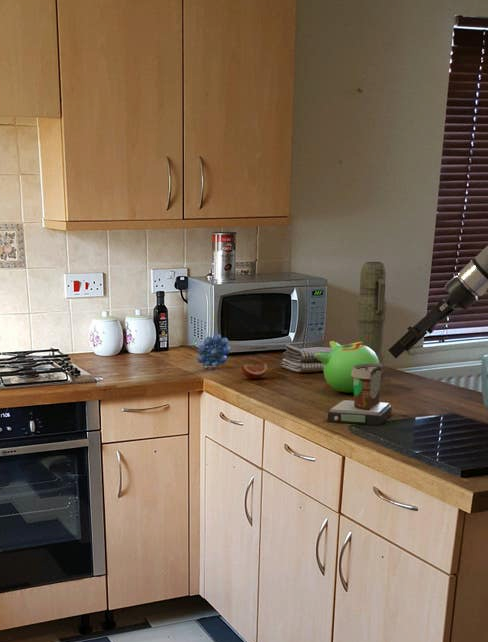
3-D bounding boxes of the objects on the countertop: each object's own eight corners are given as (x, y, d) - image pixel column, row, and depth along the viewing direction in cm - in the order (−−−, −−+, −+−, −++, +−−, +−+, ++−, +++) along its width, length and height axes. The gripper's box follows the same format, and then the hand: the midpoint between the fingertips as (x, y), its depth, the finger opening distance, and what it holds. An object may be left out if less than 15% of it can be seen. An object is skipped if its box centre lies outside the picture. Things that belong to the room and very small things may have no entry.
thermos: (368, 379, 273) (374, 263, 262) (345, 374, 283) (350, 262, 272) (391, 377, 277) (397, 261, 265) (367, 372, 287) (373, 261, 276)
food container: (356, 400, 227) (358, 362, 224) (380, 402, 224) (382, 363, 221) (343, 410, 216) (345, 369, 213) (368, 411, 214) (370, 370, 211)
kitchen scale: (378, 426, 213) (379, 413, 212) (326, 422, 219) (327, 409, 218) (391, 415, 224) (391, 402, 223) (341, 411, 230) (342, 399, 229)
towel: (301, 374, 286) (301, 350, 284) (279, 366, 303) (279, 343, 300) (343, 371, 290) (344, 347, 287) (319, 363, 307) (320, 341, 304)
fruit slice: (263, 376, 285) (263, 361, 283) (271, 379, 279) (271, 364, 277) (239, 378, 283) (239, 362, 281) (246, 381, 277) (246, 365, 275)
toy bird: (370, 399, 244) (373, 346, 240) (311, 396, 251) (313, 344, 246) (384, 388, 260) (386, 337, 255) (328, 385, 267) (329, 336, 262)
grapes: (227, 366, 307) (227, 331, 303) (232, 369, 300) (232, 334, 296) (194, 368, 305) (194, 333, 301) (199, 371, 298) (198, 335, 294)
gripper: (472, 302, 189) (398, 369, 200) (485, 294, 211) (417, 355, 222) (448, 277, 190) (375, 345, 201) (464, 272, 211) (397, 334, 222)
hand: (397, 350), depth 211 cm, fingers open, 13 cm apart
